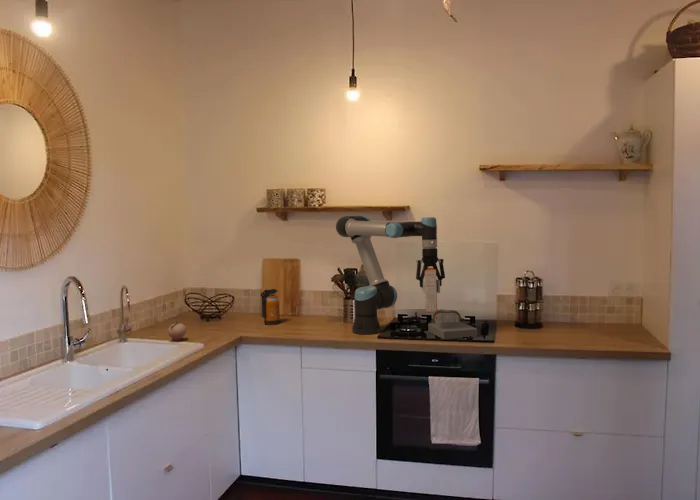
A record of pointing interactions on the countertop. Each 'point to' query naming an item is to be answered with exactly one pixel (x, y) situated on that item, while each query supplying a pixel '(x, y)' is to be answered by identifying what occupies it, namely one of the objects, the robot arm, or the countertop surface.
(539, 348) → the countertop surface
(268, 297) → the canister
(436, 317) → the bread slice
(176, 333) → the decorative fruit
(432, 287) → the cracker box
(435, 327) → the podium
